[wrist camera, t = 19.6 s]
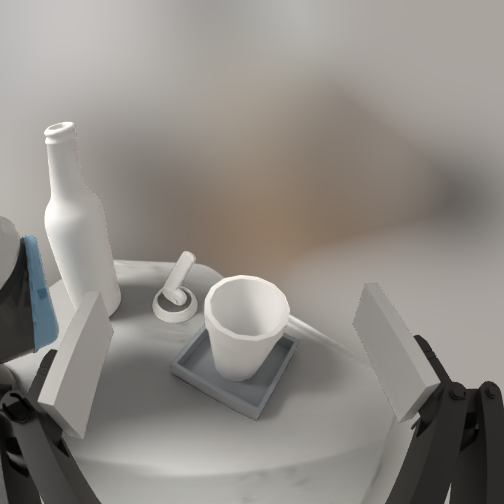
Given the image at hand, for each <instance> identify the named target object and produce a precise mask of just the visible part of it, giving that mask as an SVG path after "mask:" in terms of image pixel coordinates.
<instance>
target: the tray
mask: <svg viewBox="0 0 504 504" xmlns="http://www.w3.org/2000/svg"><path fill="white" fill-rule="evenodd" d="M298 343H299V340H297V339H295V338H293V337H291V336H289V335H287V334H285V333H283V336H282V337H281V338H280V339H279V340H278V341H277V342H276V344H275V345H274V347H273V348H272V350H271V351H270V353H269V354H268V356H267V357H266V359H265V360H264V362H263V363H262V365H261V366H260V368H259V369H258V371H257V372H256V373H255V374H254V375H253V376H252V377H251V378H250V379H247V380H244V381H241V382H239V381H230V380H228V379H226V378H224V377H222V376H221V375H220V373H219V372H218V371H217V369H216V367H215V363H214V358H213V353H212V348H211V342H210V337H209V332H208V330H207V329H206V323H205V324H204V325H203V326H202V327H201V329H200V330H199V331H198V332H197V333H196V334H195V336H194V337H193V338H192V339H191V340H190V342H189V343H188V344H187V345H186V346H185V348H184V349H183V350H182V351H181V352H180V353H179V355H178V356H177V357H176V358H175V359H174V361H173V362H172V363H171V368H172V373H173V374H174V375H175V376H177V377H178V378H180V379H182V380H183V381H185V382H187V383H188V384H190V385H191V386H193V387H195V388H196V389H198V390H200V391H202V392H203V393H205V394H207V395H208V396H210V397H212V398H214V399H216V400H217V401H219V402H221V403H223V404H225V405H226V406H228V407H230V408H232V409H234V410H236V411H238V412H240V413H242V414H244V415H246V416H248V417H250V418H252V419H254V420H257V419H258V417H259V415H260V413H261V412H262V410H263V408H264V406H265V405H266V403H267V401H268V399H269V398H270V396H271V394H272V392H273V390H274V389H275V387H276V385H277V383H278V381H279V379H280V378H281V376H282V374H283V372H284V370H285V368H286V366H287V364H288V363H289V361H290V359H291V357H292V355H293V353H294V351H295V349H296V347H297V345H298Z"/></svg>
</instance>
